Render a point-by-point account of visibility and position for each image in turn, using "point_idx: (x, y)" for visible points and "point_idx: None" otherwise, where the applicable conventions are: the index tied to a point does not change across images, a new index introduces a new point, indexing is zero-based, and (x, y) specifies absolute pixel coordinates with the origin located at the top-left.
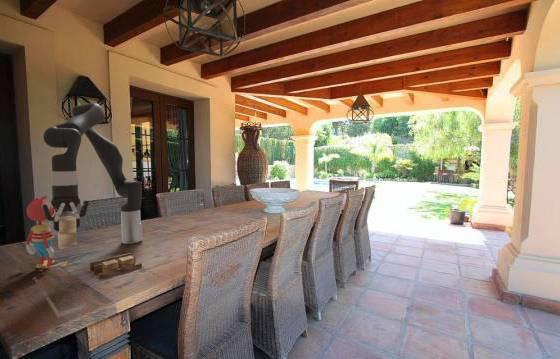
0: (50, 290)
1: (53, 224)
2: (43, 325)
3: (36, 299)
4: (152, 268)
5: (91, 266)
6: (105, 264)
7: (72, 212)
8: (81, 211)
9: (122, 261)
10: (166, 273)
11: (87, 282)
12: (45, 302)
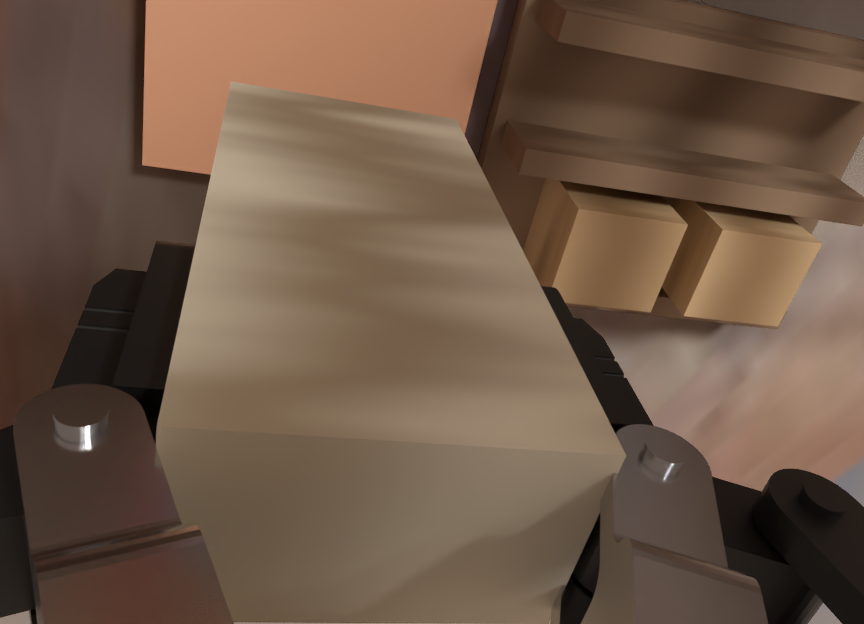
0: (136, 123)
1: (68, 368)
2: None
3: (19, 211)
4: (787, 343)
5: (550, 33)
6: (556, 287)
7: (589, 621)
8: (839, 600)
9: (681, 310)
10: (739, 470)
11: None
12: (63, 308)
